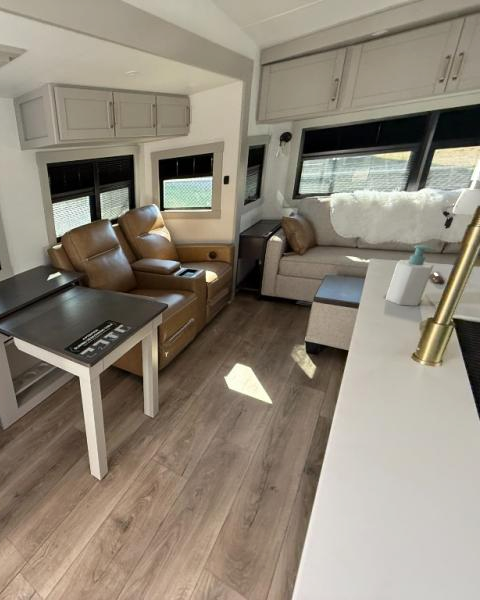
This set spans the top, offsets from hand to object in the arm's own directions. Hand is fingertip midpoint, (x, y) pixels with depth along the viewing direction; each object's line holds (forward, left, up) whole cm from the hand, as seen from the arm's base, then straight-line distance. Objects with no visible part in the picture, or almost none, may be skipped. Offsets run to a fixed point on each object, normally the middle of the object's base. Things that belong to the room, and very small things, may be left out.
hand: (464, 229), depth 128 cm
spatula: (+3, -2, -23) cm, 23 cm away
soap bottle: (+18, +31, -23) cm, 42 cm away
